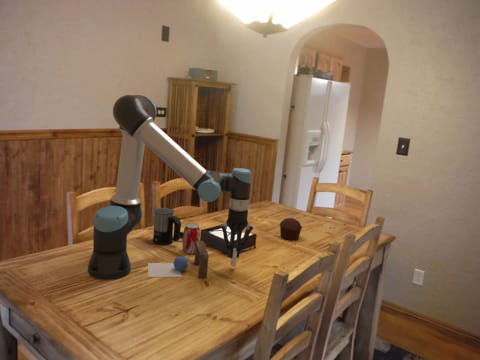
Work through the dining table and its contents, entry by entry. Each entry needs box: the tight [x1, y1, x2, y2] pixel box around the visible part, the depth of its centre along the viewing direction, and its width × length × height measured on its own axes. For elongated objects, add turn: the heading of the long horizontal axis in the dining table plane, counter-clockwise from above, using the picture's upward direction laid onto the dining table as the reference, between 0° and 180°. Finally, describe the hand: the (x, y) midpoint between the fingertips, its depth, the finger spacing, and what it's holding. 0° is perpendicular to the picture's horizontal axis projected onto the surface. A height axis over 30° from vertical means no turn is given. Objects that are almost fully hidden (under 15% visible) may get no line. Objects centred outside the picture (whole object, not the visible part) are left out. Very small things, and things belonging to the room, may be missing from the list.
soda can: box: [182, 223, 201, 255], centre depth 171 cm, size 7×7×12 cm
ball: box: [173, 256, 189, 272], centre depth 154 cm, size 6×6×6 cm
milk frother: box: [152, 207, 184, 246], centre depth 182 cm, size 14×16×15 cm
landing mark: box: [147, 262, 182, 279], centre depth 153 cm, size 12×12×1 cm
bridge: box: [194, 240, 210, 279], centre depth 155 cm, size 3×14×9 cm, turn 13°
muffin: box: [279, 217, 303, 242], centre depth 201 cm, size 12×11×10 cm
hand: (233, 265), depth 159 cm, fingers closed
